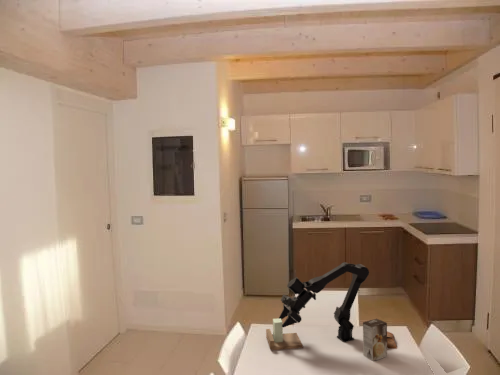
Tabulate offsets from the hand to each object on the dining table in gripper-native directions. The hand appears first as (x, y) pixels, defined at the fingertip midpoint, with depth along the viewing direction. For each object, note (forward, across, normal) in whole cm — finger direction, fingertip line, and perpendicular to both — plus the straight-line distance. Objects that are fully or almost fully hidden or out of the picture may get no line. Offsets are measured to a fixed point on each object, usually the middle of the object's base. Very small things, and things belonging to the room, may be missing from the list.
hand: (280, 323), depth 195 cm
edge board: (+6, 0, +8) cm, 10 cm away
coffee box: (-21, +20, +36) cm, 46 cm away
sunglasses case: (-29, +5, +46) cm, 54 cm away
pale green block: (+7, 0, +5) cm, 9 cm away
